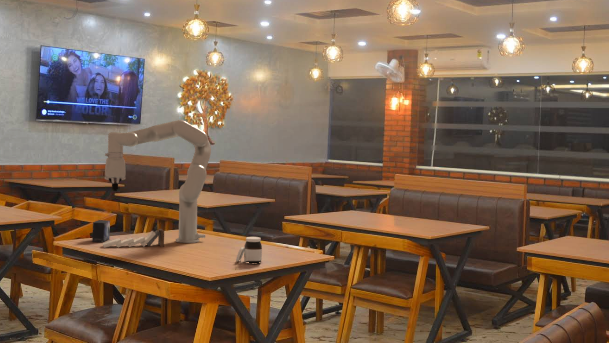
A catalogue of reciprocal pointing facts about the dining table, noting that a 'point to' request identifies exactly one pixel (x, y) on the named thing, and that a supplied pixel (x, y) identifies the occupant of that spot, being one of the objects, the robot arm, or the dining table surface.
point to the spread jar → (251, 250)
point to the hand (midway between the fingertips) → (114, 190)
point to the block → (161, 238)
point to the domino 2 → (125, 242)
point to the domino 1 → (111, 243)
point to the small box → (101, 231)
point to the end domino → (153, 238)
